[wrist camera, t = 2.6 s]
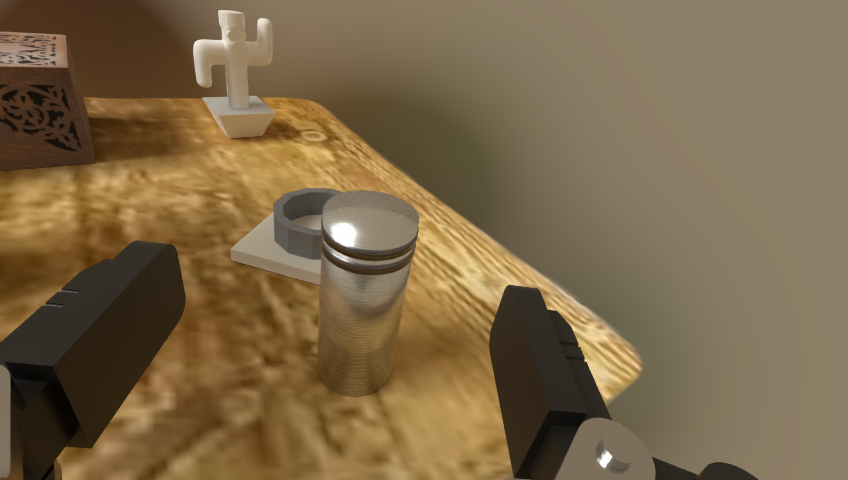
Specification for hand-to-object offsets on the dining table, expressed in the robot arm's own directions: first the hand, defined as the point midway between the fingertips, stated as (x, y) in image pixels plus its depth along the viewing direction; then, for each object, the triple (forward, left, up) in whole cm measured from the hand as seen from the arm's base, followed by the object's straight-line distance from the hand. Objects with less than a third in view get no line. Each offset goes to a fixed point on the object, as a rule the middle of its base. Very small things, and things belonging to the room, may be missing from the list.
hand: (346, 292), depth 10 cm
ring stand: (-11, +23, -16) cm, 30 cm away
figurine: (-32, +43, -16) cm, 55 cm away
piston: (-3, +11, -16) cm, 19 cm away
